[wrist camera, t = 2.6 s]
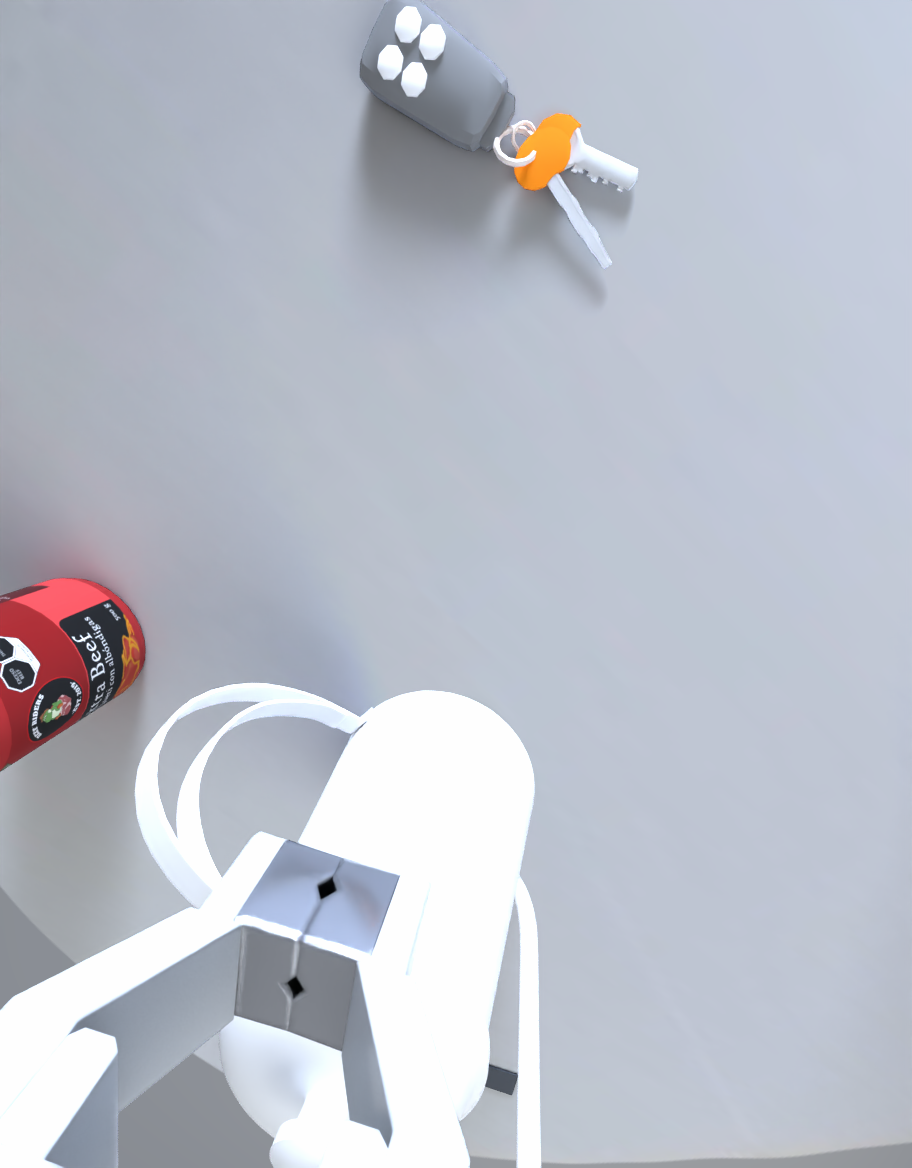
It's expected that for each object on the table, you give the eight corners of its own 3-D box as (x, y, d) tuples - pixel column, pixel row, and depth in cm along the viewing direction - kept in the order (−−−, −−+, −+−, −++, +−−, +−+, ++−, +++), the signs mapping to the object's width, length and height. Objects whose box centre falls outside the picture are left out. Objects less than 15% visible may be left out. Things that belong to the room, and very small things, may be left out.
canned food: (144, 708, 36) (-25, 829, 26) (32, 668, 37) (-178, 769, 26) (156, 598, 34) (-26, 682, 23) (35, 556, 34) (-195, 620, 24)
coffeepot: (528, 955, 36) (494, 1477, 19) (236, 681, 34) (-116, 973, 17) (668, 871, 33) (790, 1418, 15) (350, 560, 31) (59, 766, 13)
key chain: (358, 95, 24) (345, 76, 23) (402, -2, 23) (392, -28, 22) (606, 272, 25) (609, 264, 23) (663, 186, 24) (670, 172, 22)
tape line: (518, 1074, 39) (517, 1076, 39) (511, 1093, 40) (511, 1095, 40) (273, 994, 41) (272, 995, 41) (270, 1013, 42) (270, 1015, 42)
